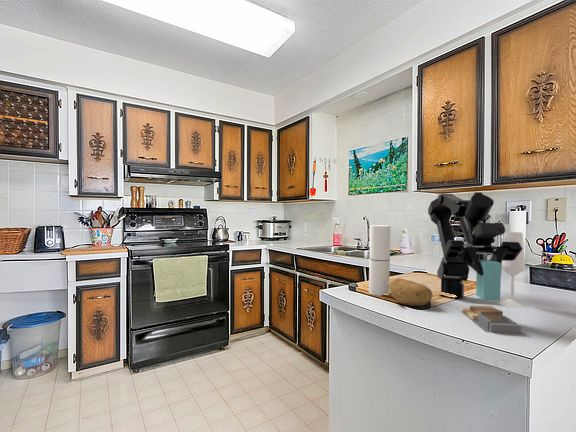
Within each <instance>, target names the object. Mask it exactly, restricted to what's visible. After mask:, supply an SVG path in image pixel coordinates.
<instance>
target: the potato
mask: <svg viewBox="0 0 576 432" xmlns="http://www.w3.org/2000/svg"><path fill="white" fill-rule="evenodd" d="M389 292H390V293H391V296H392V297H393V299H395V300H396V301H397V302H398V303H400V304H401V305H407V306H413V307H424V306H425V305H426V304H428V303H429V302H430V301H431V300H432V299H433V296H434V295H433V292H432V290H431V289H430V288H429V287H428V286H426V285H425V284H421V283H419V282H416V281H412V280H407V279H404V278H394V279H392V280H391V281H389Z"/></svg>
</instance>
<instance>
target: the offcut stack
mask: <svg viewBox="0 0 576 432" xmlns="http://www.w3.org/2000/svg"><path fill="white" fill-rule="evenodd" d="M461 308H462V310H461V311H463V312H464V313H465V314H466V315H468V316H469V317H470V318H471V319H473V320H478V314H482V315H483V316H485V317H486V318H488V319H489V320H490V321H498V322H501V316H504V311H502V310H500V309H498V308H496V307H494V306H491V305H469V307H464V306H463V307H461ZM466 315H465V316H466Z"/></svg>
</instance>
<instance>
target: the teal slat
mask: <svg viewBox="0 0 576 432" xmlns="http://www.w3.org/2000/svg"><path fill="white" fill-rule="evenodd" d="M478 260H479V262H480V265H481V267H482V270H483V275H482V276H481V275H479V274H478V273H477V272H476V282H475V284H476V287H475V289H476V290H475V296H477V297H478V298H480V299H481V300H484V301H495V302H496V301H498V302H501V287H502V286H501V283H502V282H501V281H502V279H501V278H502V268H501V263H499V262H496V261H493V260H490V259H478Z"/></svg>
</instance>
